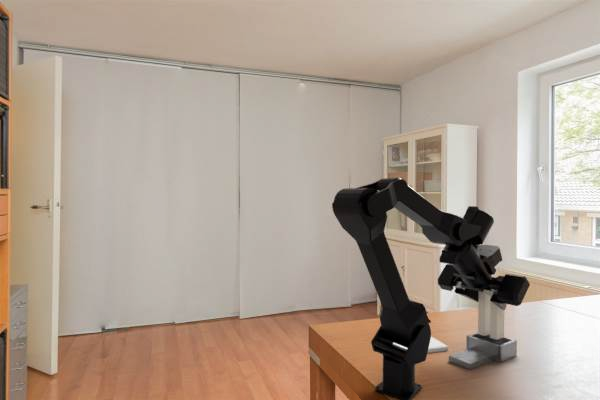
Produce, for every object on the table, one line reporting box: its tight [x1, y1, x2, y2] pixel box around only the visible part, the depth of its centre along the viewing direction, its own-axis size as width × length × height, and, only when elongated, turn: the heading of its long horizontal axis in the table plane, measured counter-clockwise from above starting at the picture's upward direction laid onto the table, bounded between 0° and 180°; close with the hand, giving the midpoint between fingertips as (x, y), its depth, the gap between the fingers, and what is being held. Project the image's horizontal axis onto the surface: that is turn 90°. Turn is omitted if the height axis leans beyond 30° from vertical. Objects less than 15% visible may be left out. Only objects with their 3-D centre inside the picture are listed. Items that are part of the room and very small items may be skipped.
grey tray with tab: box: [448, 331, 518, 370], centre depth 87 cm, size 16×8×3 cm, turn 124°
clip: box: [477, 290, 505, 340], centre depth 90 cm, size 3×4×12 cm
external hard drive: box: [393, 336, 449, 354], centre depth 93 cm, size 2×8×12 cm
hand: (494, 305), depth 90 cm, fingers closed on clip, 4 cm apart
